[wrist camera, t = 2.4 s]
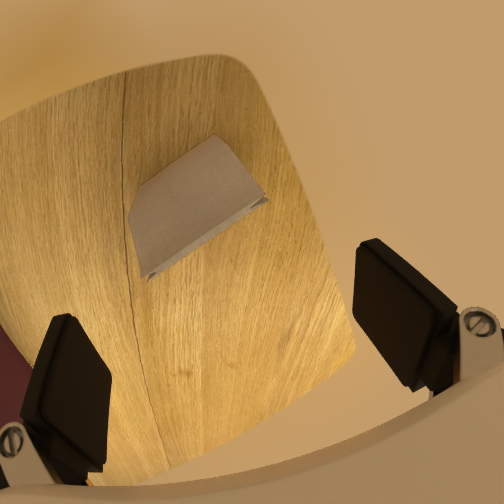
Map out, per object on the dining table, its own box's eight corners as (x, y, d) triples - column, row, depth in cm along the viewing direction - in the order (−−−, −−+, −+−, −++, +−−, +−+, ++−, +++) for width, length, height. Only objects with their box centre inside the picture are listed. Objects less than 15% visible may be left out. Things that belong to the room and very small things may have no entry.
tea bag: (138, 187, 21) (116, 252, 12) (214, 133, 20) (245, 160, 12) (167, 223, 23) (167, 304, 14) (241, 174, 22) (286, 227, 14)
